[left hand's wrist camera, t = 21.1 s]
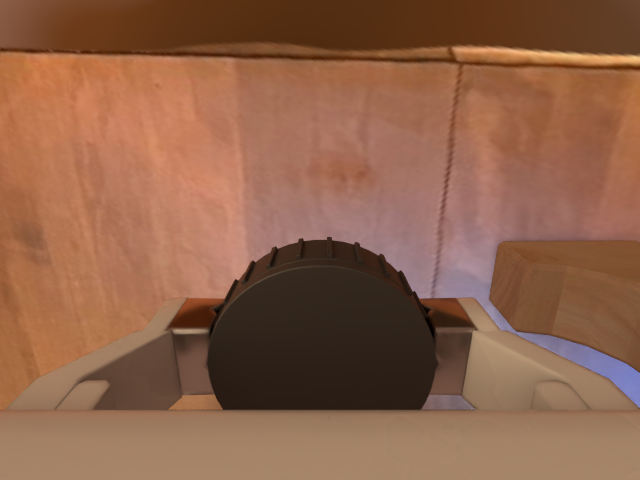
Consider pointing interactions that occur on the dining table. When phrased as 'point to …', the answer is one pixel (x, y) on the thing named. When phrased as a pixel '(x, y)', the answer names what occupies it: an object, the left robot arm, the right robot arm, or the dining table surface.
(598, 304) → the decorative block
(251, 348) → the lid
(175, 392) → the left robot arm
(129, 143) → the dining table surface
